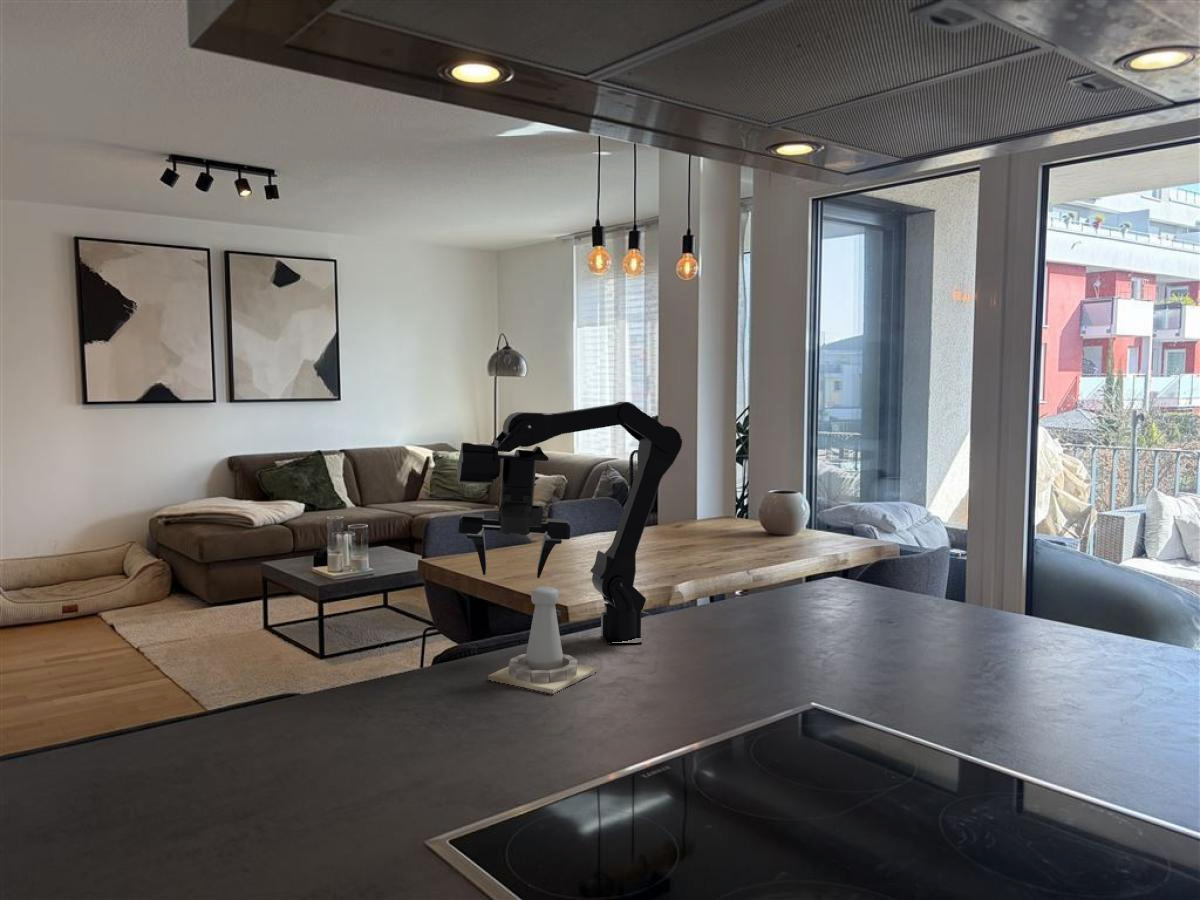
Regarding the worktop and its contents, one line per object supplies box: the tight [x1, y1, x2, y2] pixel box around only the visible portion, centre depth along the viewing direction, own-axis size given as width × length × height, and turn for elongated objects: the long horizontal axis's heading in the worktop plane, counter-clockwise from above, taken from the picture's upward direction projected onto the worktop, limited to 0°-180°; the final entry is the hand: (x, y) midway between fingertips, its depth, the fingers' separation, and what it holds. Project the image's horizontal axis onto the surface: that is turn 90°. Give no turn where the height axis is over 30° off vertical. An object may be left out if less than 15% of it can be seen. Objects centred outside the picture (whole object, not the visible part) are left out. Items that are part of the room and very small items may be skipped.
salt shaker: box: [525, 586, 564, 670], centre depth 135 cm, size 6×6×13 cm
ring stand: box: [487, 653, 598, 693], centre depth 135 cm, size 12×12×2 cm
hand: (511, 576), depth 149 cm, fingers open, 9 cm apart
